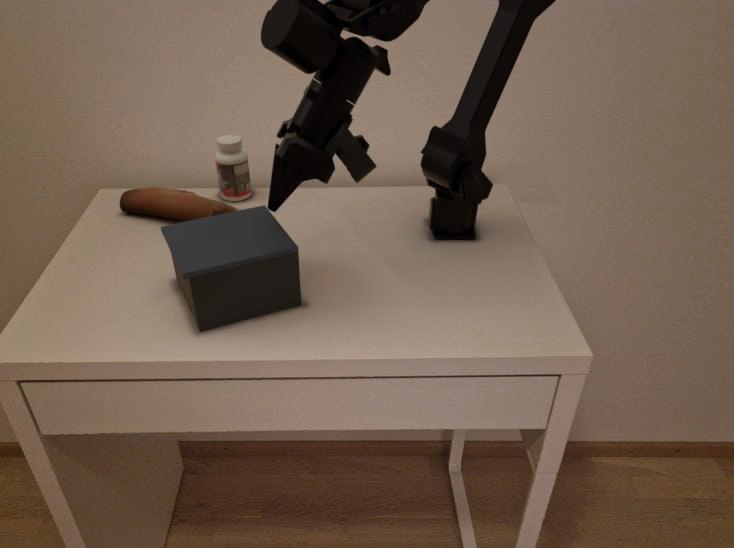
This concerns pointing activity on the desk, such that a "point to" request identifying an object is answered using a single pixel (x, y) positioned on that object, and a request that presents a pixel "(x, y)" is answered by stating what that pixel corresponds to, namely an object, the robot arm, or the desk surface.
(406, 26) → the robot arm
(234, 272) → the desk case
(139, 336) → the desk surface
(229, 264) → the cover
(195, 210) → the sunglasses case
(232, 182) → the pill bottle
